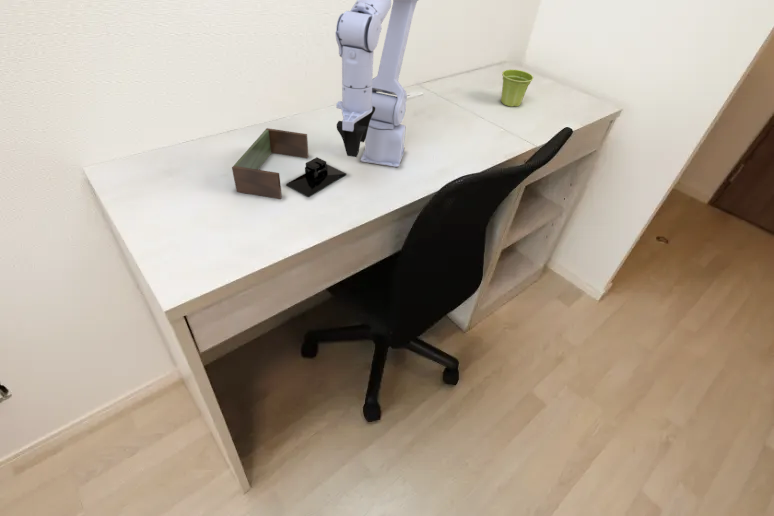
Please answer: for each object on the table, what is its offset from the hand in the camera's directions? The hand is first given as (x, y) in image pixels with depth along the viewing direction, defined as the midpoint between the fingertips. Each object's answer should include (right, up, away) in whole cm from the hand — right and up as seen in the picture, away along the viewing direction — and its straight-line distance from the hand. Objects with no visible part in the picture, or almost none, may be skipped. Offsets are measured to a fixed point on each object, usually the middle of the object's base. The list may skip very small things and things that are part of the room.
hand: (356, 148), depth 93 cm
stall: (-19, -4, +8) cm, 21 cm away
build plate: (-9, -6, +7) cm, 13 cm away
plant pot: (+45, +26, +47) cm, 70 cm away
